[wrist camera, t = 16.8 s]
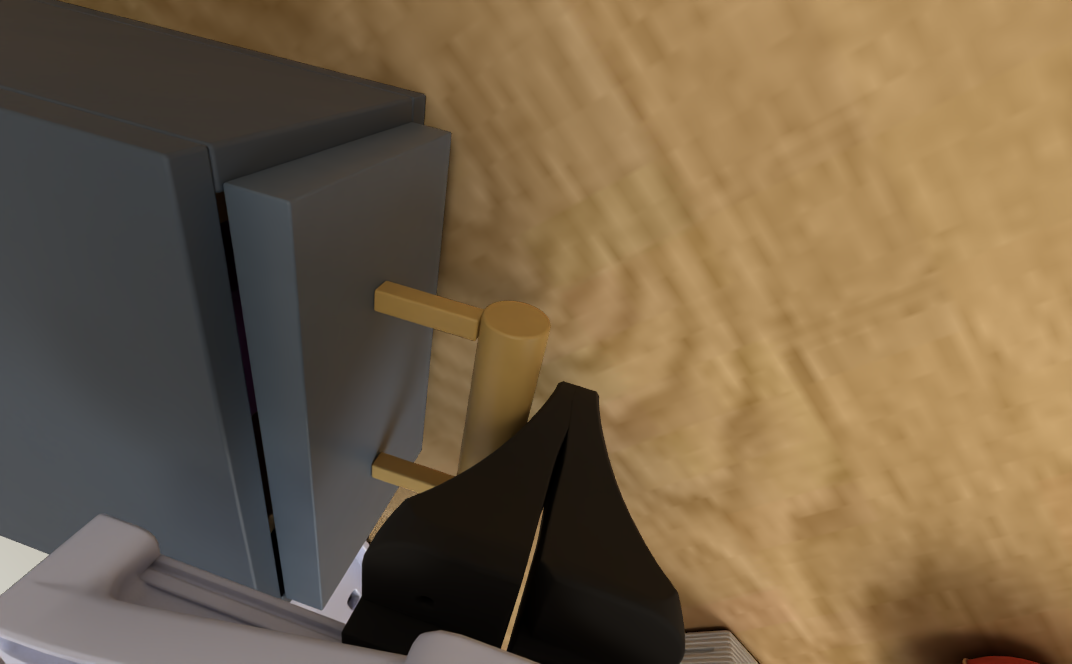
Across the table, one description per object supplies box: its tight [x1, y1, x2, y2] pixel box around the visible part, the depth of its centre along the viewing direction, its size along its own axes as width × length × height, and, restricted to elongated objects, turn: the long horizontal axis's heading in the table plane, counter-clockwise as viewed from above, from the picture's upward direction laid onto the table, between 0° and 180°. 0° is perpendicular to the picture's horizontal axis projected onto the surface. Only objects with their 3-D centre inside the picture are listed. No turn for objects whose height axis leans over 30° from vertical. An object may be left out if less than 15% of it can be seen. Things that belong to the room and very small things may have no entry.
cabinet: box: [0, 0, 426, 603], centre depth 15 cm, size 16×14×9 cm
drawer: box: [215, 122, 551, 611], centre depth 15 cm, size 19×12×7 cm, turn 79°
